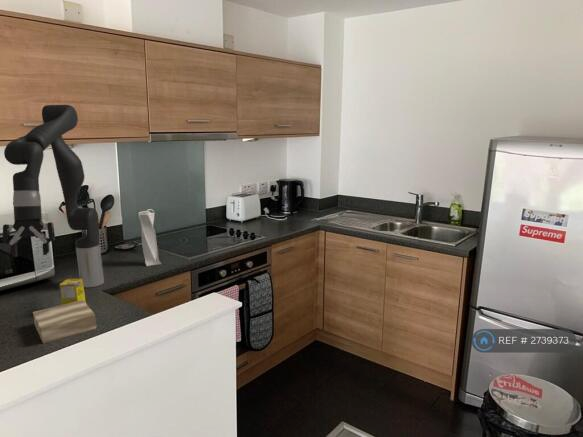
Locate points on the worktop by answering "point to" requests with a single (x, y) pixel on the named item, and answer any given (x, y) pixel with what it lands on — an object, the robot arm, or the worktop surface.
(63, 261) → the worktop surface
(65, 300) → the supplement box
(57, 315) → the oak support block
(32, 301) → the worktop surface
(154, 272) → the worktop surface
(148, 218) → the skyscraper
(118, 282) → the worktop surface
